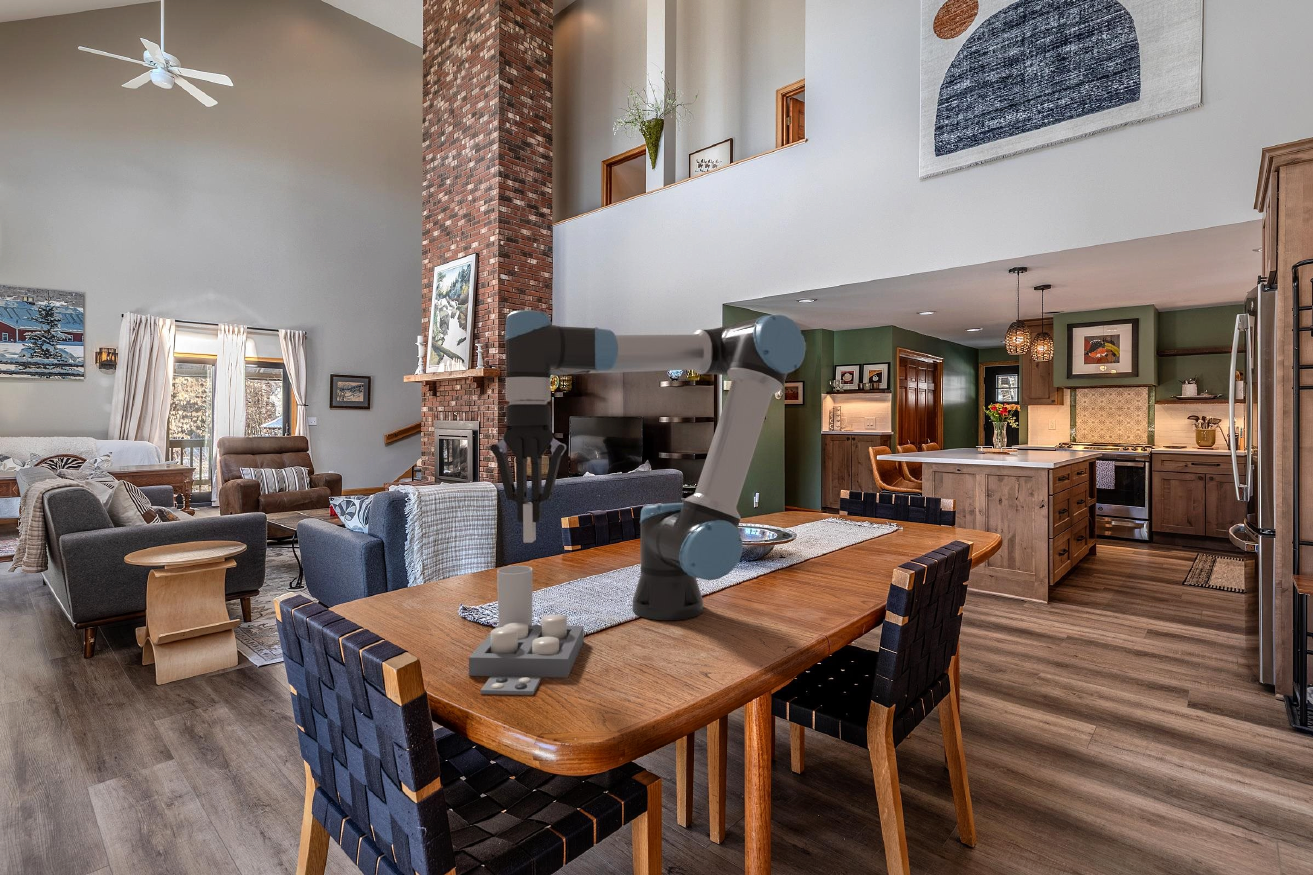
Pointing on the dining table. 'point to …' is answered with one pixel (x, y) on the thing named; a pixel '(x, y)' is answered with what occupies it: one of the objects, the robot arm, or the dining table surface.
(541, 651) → the button
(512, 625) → the button
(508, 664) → the board
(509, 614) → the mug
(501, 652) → the button
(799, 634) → the dining table surface
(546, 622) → the button
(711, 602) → the dining table surface
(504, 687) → the card
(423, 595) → the dining table surface
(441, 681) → the dining table surface
